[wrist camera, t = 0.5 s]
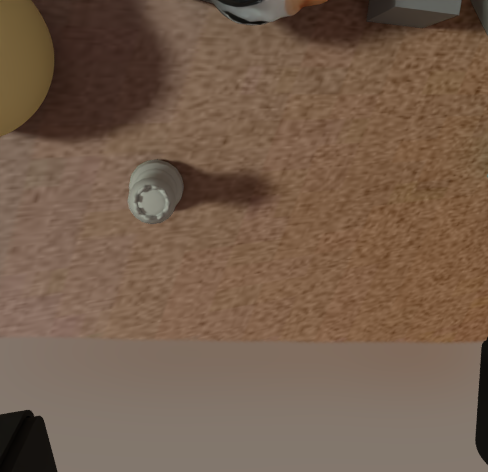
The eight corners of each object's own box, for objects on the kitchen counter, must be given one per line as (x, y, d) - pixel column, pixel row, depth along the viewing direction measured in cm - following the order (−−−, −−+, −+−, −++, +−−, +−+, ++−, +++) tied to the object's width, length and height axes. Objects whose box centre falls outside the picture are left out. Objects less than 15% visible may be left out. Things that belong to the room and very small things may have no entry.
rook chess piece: (142, 149, 36) (132, 158, 28) (192, 173, 37) (196, 187, 29) (121, 198, 36) (106, 219, 29) (170, 219, 37) (168, 246, 30)
